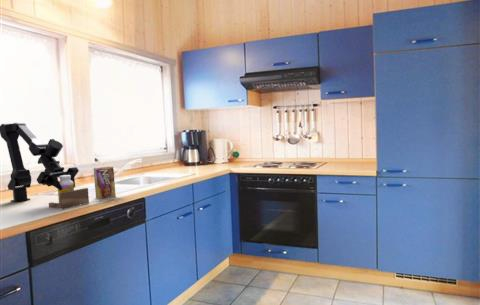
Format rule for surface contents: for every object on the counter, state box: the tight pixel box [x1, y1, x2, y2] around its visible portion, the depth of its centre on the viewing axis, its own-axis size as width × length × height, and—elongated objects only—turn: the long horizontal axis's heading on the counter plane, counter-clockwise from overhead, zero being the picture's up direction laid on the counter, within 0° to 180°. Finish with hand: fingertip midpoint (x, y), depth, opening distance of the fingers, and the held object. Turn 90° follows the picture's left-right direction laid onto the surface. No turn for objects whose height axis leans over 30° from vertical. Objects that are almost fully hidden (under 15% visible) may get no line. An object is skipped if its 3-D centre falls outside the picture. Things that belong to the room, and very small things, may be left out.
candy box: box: [93, 166, 117, 200], centre depth 185 cm, size 9×4×15 cm, turn 129°
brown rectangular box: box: [48, 187, 90, 210], centre depth 169 cm, size 10×14×7 cm
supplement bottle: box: [57, 175, 75, 203], centre depth 169 cm, size 7×7×13 cm
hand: (68, 188), depth 168 cm, fingers open, 7 cm apart
